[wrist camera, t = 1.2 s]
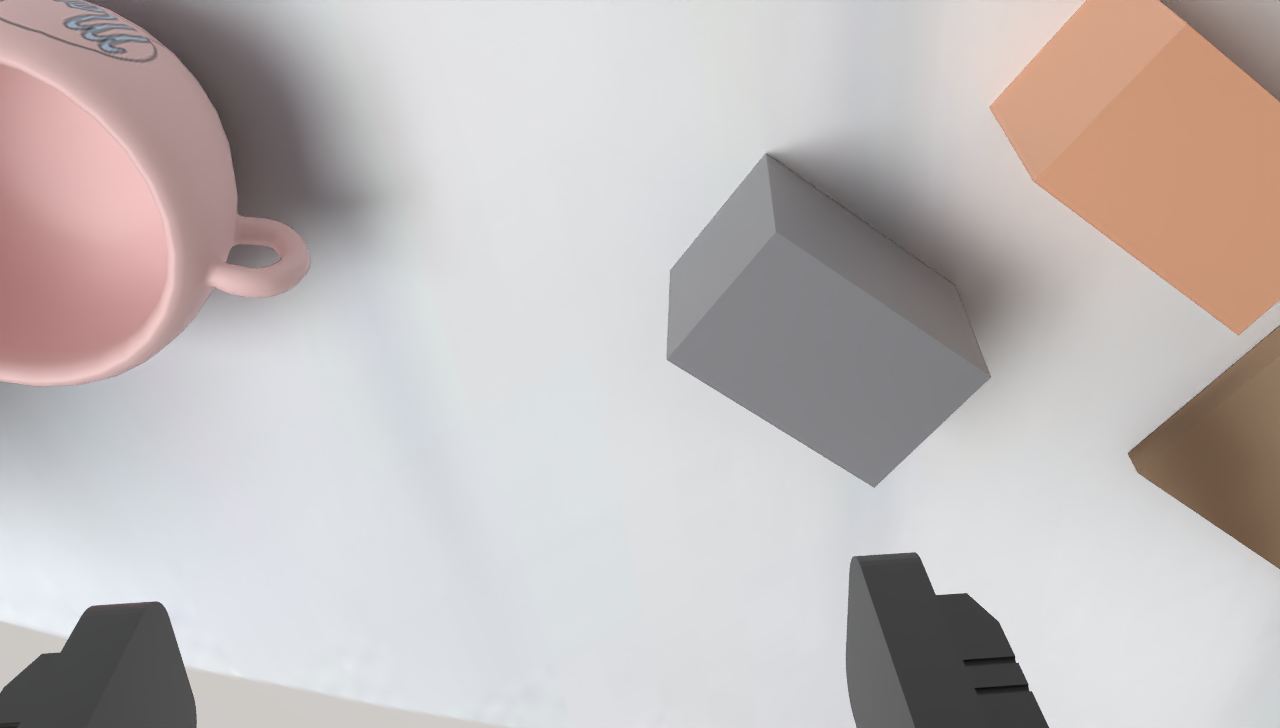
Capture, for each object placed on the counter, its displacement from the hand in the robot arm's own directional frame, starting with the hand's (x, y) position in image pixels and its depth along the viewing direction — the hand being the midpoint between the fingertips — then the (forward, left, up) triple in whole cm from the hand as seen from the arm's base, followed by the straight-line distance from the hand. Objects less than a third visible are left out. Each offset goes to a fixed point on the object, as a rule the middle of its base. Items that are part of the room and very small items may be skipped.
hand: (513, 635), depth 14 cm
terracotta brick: (-7, +12, -21) cm, 25 cm away
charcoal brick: (+2, +8, -21) cm, 22 cm away
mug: (+10, -10, -21) cm, 25 cm away
